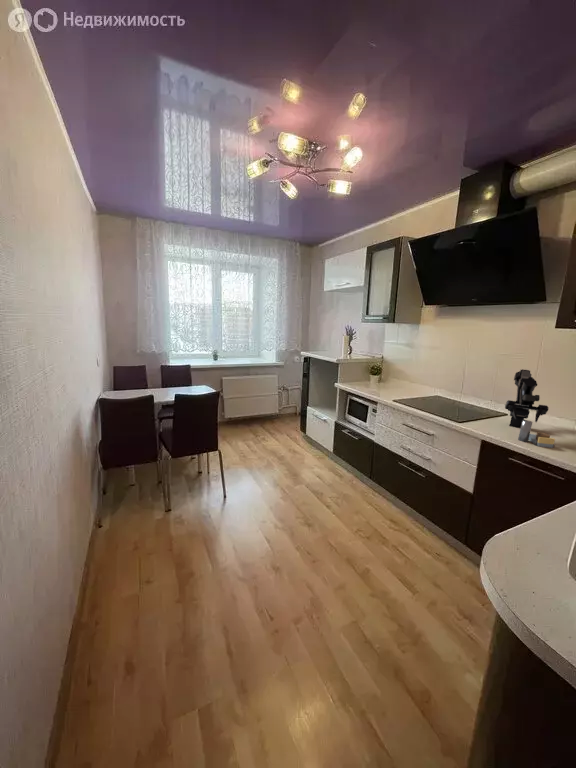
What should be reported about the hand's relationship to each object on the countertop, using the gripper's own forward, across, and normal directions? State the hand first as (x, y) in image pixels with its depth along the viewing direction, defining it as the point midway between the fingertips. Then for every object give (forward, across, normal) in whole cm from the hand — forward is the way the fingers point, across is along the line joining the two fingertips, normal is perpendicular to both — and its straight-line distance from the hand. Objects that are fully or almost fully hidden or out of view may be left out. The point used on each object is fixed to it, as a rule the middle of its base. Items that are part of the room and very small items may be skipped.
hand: (525, 420), depth 172 cm
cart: (+8, +7, +7) cm, 13 cm away
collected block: (+9, +8, +3) cm, 12 cm away
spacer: (+10, 0, +5) cm, 11 cm away
